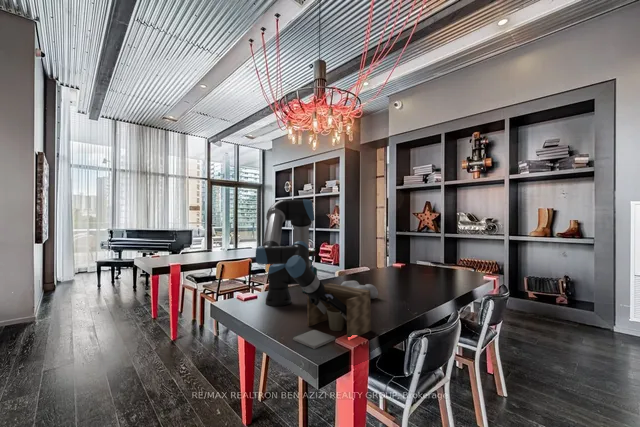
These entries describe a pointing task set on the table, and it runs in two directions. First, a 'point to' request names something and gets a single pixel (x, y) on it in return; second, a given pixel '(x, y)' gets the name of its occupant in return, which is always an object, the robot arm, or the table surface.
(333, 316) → the flower pot
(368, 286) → the torso sculpture
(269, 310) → the table surface
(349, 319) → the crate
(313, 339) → the tile
